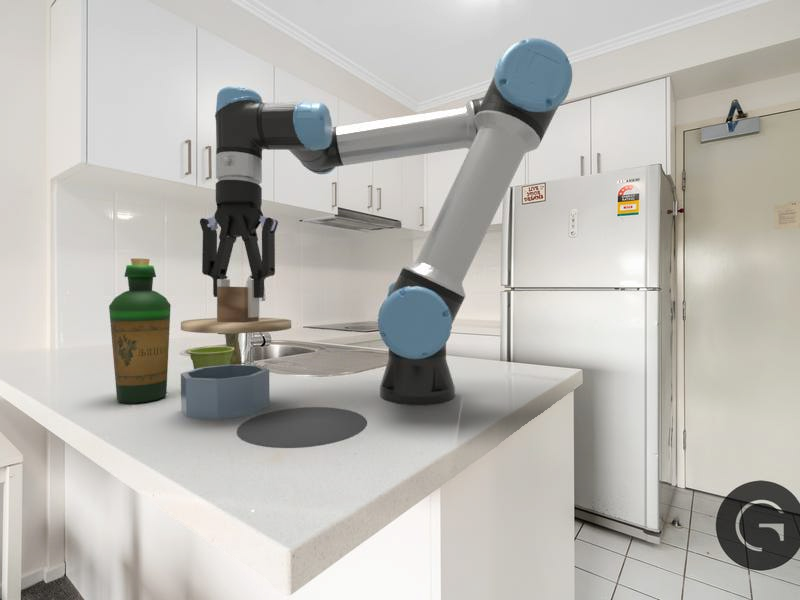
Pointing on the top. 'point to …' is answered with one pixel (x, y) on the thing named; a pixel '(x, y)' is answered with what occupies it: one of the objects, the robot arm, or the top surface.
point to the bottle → (140, 337)
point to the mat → (301, 427)
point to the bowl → (224, 391)
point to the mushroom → (233, 342)
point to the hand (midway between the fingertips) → (238, 316)
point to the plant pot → (211, 356)
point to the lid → (234, 316)
